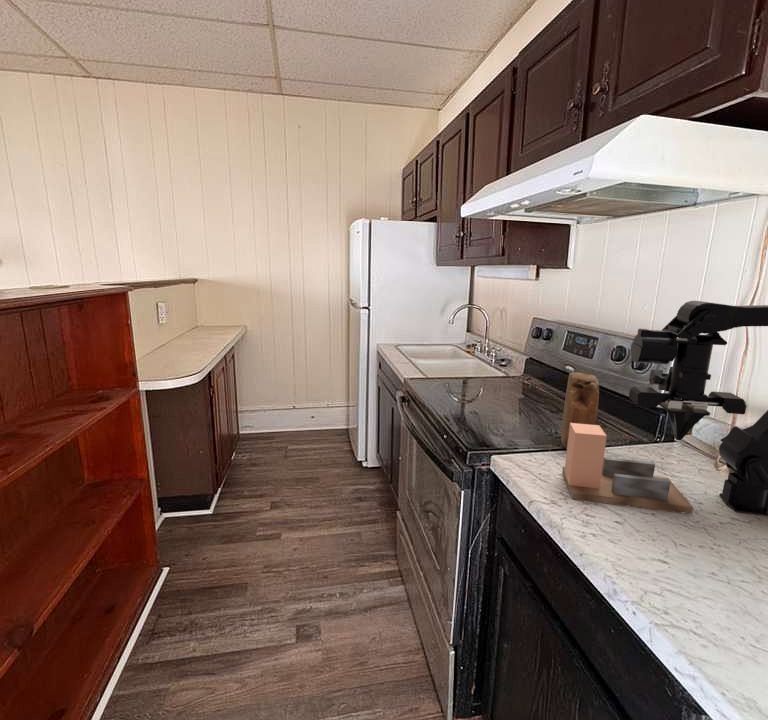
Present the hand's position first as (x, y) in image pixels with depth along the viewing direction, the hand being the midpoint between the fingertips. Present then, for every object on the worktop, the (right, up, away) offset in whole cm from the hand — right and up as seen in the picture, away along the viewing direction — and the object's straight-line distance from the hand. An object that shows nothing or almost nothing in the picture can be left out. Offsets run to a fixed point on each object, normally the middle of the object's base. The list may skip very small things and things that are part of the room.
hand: (677, 439), depth 86 cm
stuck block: (-17, -10, +6) cm, 21 cm away
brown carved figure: (-9, -7, +27) cm, 29 cm away
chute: (-9, -12, +5) cm, 16 cm away
